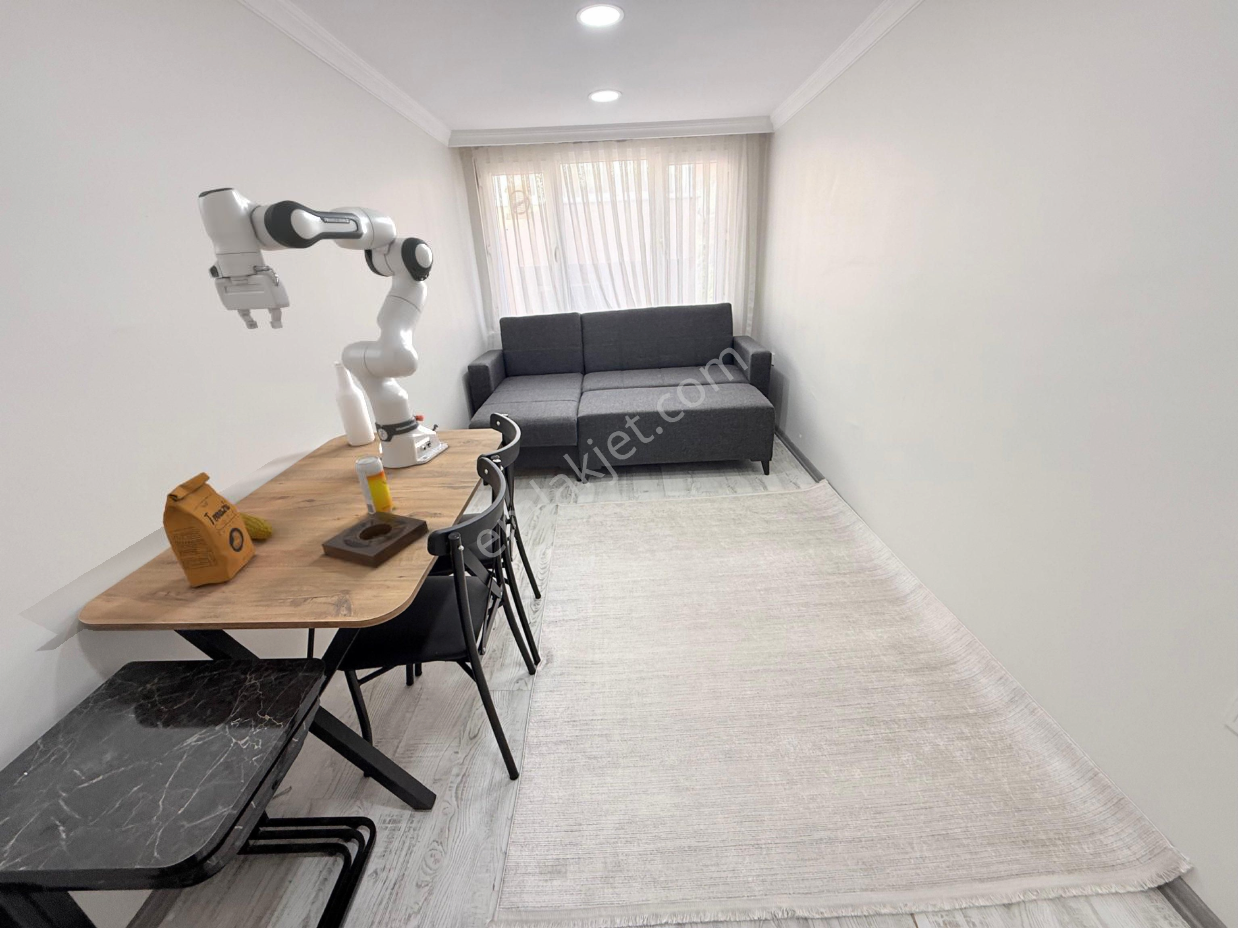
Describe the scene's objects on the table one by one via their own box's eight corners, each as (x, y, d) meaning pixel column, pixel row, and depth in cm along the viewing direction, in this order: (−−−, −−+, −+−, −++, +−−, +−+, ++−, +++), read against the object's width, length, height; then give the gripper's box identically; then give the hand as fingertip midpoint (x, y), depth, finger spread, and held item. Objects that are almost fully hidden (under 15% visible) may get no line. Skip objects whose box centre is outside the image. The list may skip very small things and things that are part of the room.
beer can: (398, 506, 133) (385, 455, 127) (383, 518, 128) (368, 465, 122) (380, 505, 135) (365, 454, 129) (364, 516, 129) (348, 463, 123)
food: (207, 534, 125) (198, 513, 123) (230, 523, 130) (221, 503, 127) (264, 546, 118) (255, 524, 115) (286, 534, 123) (278, 513, 120)
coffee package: (266, 553, 115) (231, 467, 106) (232, 586, 103) (190, 492, 95) (222, 557, 114) (183, 470, 106) (182, 590, 103) (136, 497, 94)
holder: (380, 521, 126) (377, 510, 125) (428, 531, 120) (426, 520, 119) (325, 554, 113) (321, 543, 112) (376, 568, 107) (372, 556, 106)
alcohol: (366, 436, 189) (345, 358, 177) (380, 439, 184) (358, 359, 173) (344, 444, 182) (320, 363, 170) (357, 447, 178) (334, 365, 166)
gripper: (285, 264, 113) (305, 325, 118) (231, 269, 121) (252, 326, 126) (258, 265, 108) (280, 330, 113) (203, 271, 116) (226, 331, 121)
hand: (265, 328), depth 120 cm, fingers open, 8 cm apart
